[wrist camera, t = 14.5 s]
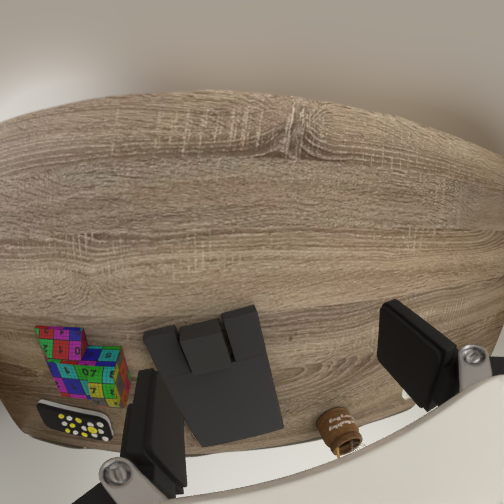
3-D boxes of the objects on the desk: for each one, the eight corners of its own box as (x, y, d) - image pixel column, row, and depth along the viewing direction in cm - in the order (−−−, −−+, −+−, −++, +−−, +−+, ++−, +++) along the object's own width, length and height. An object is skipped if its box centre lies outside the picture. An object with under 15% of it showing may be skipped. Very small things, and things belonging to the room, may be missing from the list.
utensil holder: (342, 424, 42) (371, 472, 31) (310, 431, 41) (335, 484, 30) (351, 403, 41) (385, 452, 29) (318, 410, 39) (347, 465, 28)
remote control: (37, 395, 30) (32, 404, 28) (108, 411, 33) (105, 421, 31) (48, 420, 32) (45, 428, 30) (115, 435, 34) (113, 444, 32)
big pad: (144, 331, 30) (142, 338, 29) (254, 304, 32) (256, 310, 30) (201, 440, 37) (202, 447, 36) (281, 421, 39) (284, 428, 37)
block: (117, 328, 30) (103, 363, 23) (131, 380, 32) (123, 418, 25) (36, 325, 27) (13, 354, 21) (55, 375, 30) (39, 407, 23)
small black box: (180, 327, 31) (179, 341, 28) (218, 317, 31) (220, 331, 29) (193, 360, 32) (193, 376, 30) (229, 352, 33) (232, 367, 30)
